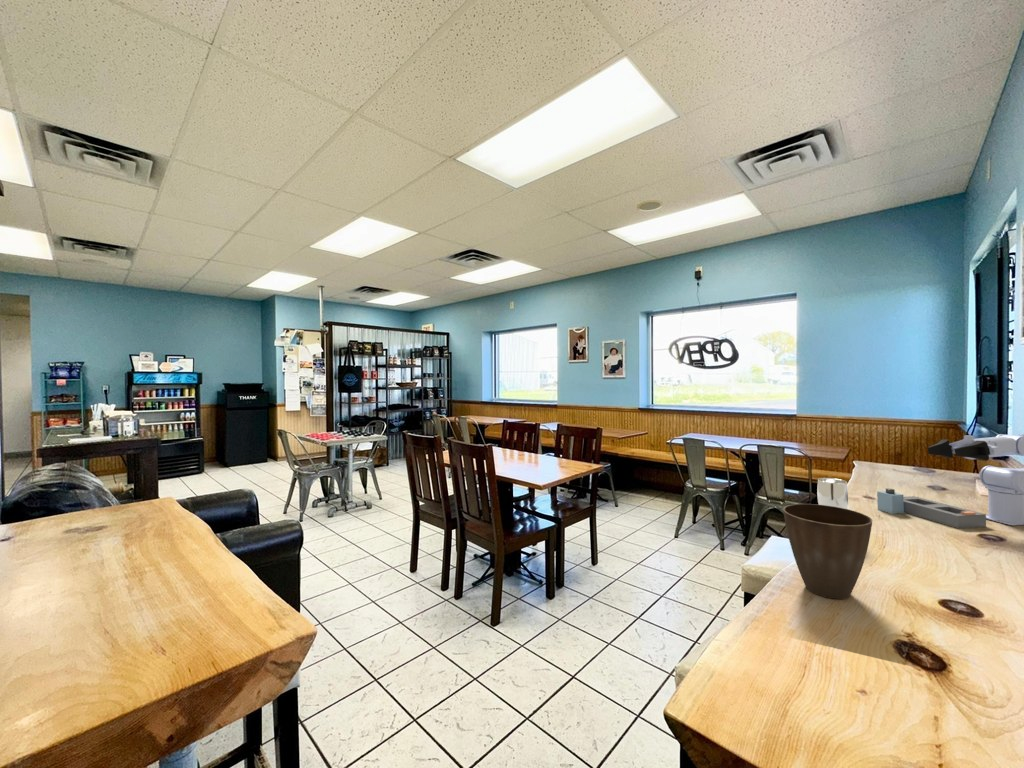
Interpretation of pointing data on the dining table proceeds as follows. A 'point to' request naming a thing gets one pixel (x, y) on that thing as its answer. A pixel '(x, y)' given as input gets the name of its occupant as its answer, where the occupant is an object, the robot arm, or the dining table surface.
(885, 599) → the dining table surface
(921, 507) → the grey slotted tray
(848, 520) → the plant pot
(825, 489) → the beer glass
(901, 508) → the plug
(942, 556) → the dining table surface
